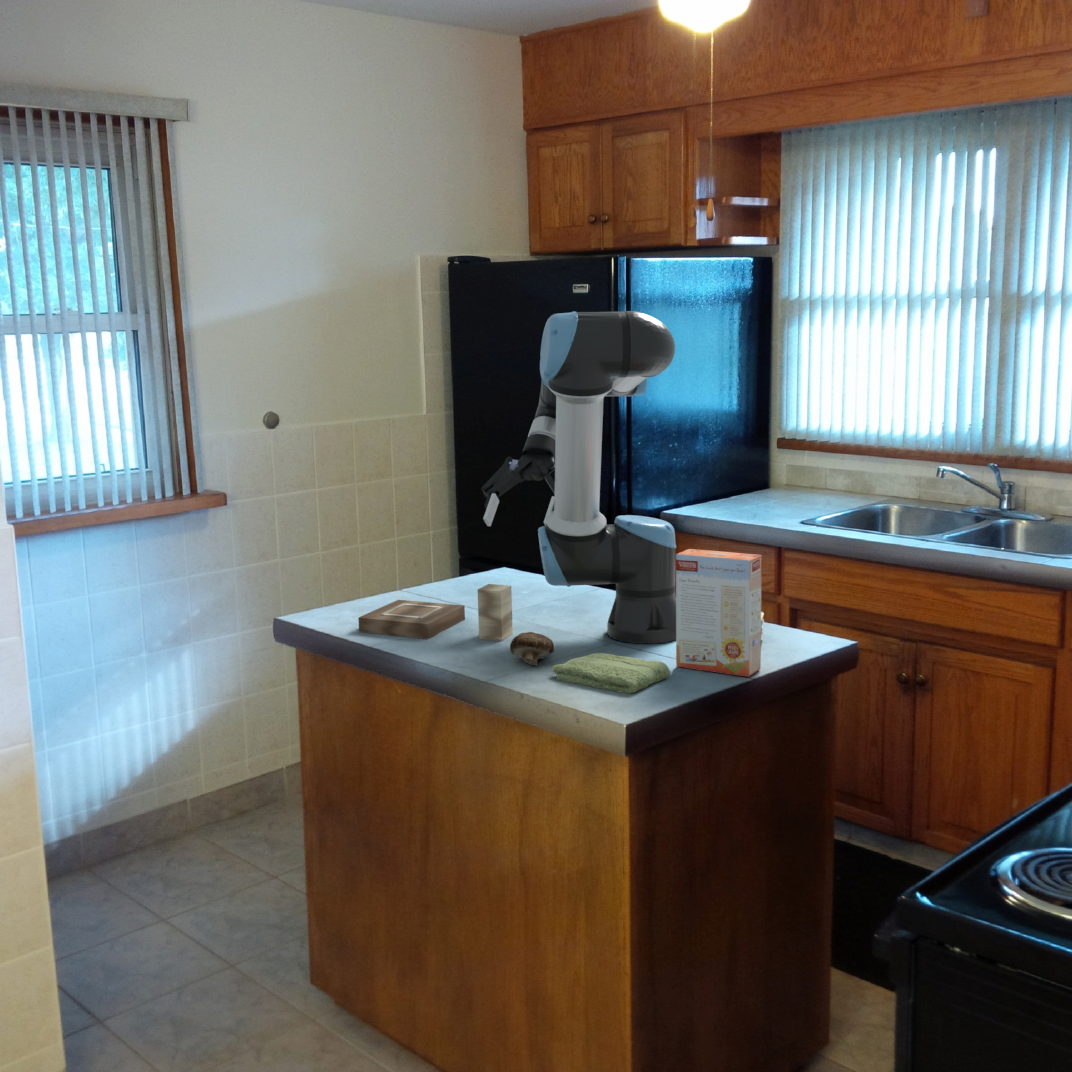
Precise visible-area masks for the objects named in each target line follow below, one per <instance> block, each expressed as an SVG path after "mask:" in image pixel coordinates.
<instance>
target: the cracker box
mask: <svg viewBox="0 0 1072 1072" xmlns="http://www.w3.org/2000/svg"><path fill="white" fill-rule="evenodd" d="M675 597H676V641H675V643H676V645H675V647H676V649H675V650H676V651H675V655H676V656H675V659H676V662H675V663H676V664H675V665H676V667H679V668H684V669H690V670H691V669H693V670H698V671H706V672H713V673H718V674H719V673H720V674H725V675H726V674H727V675H733V676H737V677H738V676H740V677H746V678H748V677H751V675H753V674H755V673H756V672H757V671H759V670H761V660H762V659H761V657H762V656H761V655H762V654H761V653H762V652H761V650H762V649H761V648H762V646H761V645H762V643H761V642H762V638H761V612H762V554H755V553H754V554H753V553H742V552H731V551H718V550H709V549H708V550H707V549H694V548H688V549H687V548H686V549H685V550H683V551H680V552H678V553H675Z"/></svg>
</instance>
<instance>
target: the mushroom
mask: <svg viewBox="0 0 1072 1072" xmlns="http://www.w3.org/2000/svg"><path fill="white" fill-rule="evenodd" d="M554 644H555V643H554V642H553V640H552V638H549V636H546V635H544V634H541V633H538V632H537V633H536V632H533V631H528V632H521V633H520V634H517V635H515V636H514V637H513V638H512V640H511V642H510V645H509V649H510V653H511V654H512V655H513V656H515V657H516V658H519V659H522V660H523V662H525V663H528V664H530V665H533V666H538V660H540V659H545V658H549V657H550V656H552V655H553V653H554V651H555V645H554Z"/></svg>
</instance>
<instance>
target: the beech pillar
mask: <svg viewBox="0 0 1072 1072" xmlns="http://www.w3.org/2000/svg"><path fill="white" fill-rule="evenodd" d="M512 594H513V592H512V585H509V584H507V585H505V584H494V583H488V584H485V585H484V586H482V587H479V588H478V589H477V614H478V615H477V616H478V618H477V619H478V639H480V640H489V641H498V642H499V641H500V642H502V641H505V640H506V639H508V638H510V637H511V636H513V635H514V634H513V632H514V631H513V601H512V600H513V598H512V596H513V595H512Z"/></svg>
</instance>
